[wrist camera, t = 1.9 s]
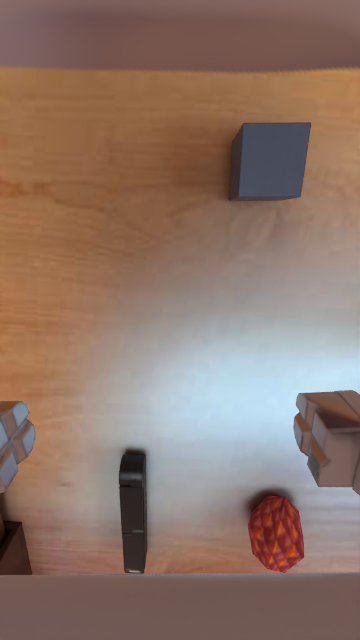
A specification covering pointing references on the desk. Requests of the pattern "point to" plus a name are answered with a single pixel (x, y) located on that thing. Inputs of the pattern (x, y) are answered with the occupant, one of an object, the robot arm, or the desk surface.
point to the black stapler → (133, 512)
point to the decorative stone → (276, 533)
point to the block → (268, 161)
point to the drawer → (2, 532)
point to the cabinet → (14, 551)
